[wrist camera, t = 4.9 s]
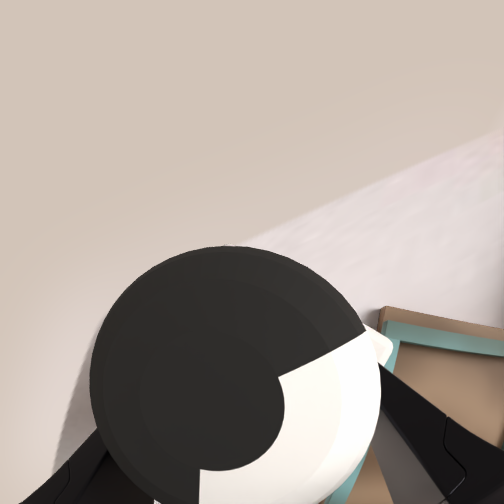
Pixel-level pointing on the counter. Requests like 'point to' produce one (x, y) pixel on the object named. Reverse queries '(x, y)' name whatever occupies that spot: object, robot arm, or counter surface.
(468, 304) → the counter surface
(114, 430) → the medicine bottle
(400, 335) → the socket board
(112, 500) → the robot arm
